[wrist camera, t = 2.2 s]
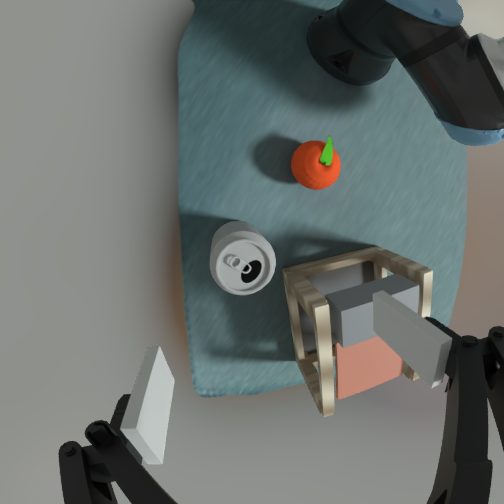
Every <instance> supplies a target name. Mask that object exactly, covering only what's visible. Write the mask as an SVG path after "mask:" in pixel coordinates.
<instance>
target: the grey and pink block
mask: <svg viewBox="0 0 504 504" xmlns="http://www.w3.org/2000/svg"><path fill="white" fill-rule="evenodd" d="M382 290H383V291H385V292H386V293H388V294H389V295H391V296H392V297H394V298H395V299H397V300H398V301H400V302H401V303H403V304H404V305H405V306H407V307H408V308H410V309H411V310H413V311H414V312H416V313H417V314H418V304H419V285H418V284H417V283H415V282H413V281H411V280H409V279H407V278H405V277H404V276H402V275H400V274H398V273H397V274H394V275H391V276H387V277H384V278H381V279H378V280H374V281H371V282H368V283H364V284H361V285H358V286H354V287H351V288H347V289H344V290H340V291H336V292H333V293H329V294H326V295H325V299H326V300H327V303H328V304H329V313H330V326H331V340H332V345H333V344H335V365H336V397H337V398H338V400H340V399H343V398H345V397H348V396H351V395H353V394H356V393H359V392H362V391H364V390H367V389H369V388H372V387H374V386H377V385H379V384H381V383H384V382H386V381H388V380H390V379H393V378H395V377H397V376H399V375H402V372H403V365H404V360H403V359H402V358H401V357H400V356H399V355H398V354H397V353H396V352H395V351H393V350H392V349H391V348H390V347H389V346H388V345H387V344H386V343H385V342H384V341H383V340H382V339H381V338H380V337H379V336H378V335H377V334H376V333H375V332H374V331H373V293H376V292H379V291H382Z"/></svg>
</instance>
